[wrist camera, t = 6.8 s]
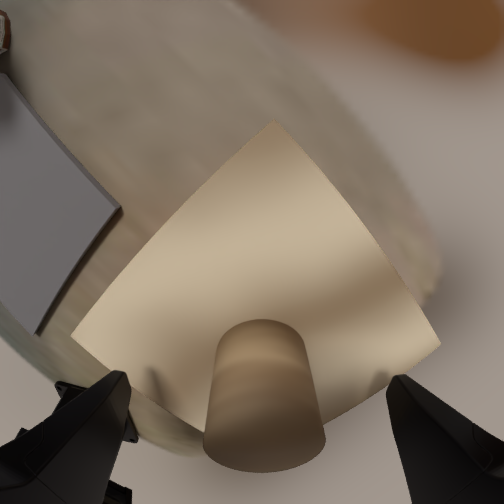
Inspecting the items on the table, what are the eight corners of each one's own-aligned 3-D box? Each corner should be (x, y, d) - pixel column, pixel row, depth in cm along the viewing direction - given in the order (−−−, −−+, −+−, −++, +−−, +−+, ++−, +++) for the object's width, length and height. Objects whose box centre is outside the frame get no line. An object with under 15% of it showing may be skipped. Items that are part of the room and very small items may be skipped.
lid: (431, 331, 11) (486, 406, 6) (253, 443, 14) (253, 520, 9) (271, 121, 8) (295, 94, 4) (80, 322, 11) (22, 401, 6)
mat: (120, 205, 14) (115, 208, 13) (36, 332, 17) (32, 336, 16) (5, 73, 10) (-1, 73, 10) (-51, 216, 14) (-56, 219, 13)
